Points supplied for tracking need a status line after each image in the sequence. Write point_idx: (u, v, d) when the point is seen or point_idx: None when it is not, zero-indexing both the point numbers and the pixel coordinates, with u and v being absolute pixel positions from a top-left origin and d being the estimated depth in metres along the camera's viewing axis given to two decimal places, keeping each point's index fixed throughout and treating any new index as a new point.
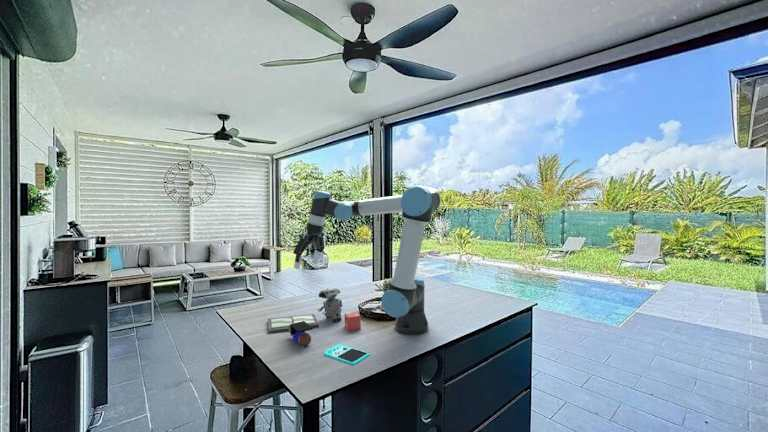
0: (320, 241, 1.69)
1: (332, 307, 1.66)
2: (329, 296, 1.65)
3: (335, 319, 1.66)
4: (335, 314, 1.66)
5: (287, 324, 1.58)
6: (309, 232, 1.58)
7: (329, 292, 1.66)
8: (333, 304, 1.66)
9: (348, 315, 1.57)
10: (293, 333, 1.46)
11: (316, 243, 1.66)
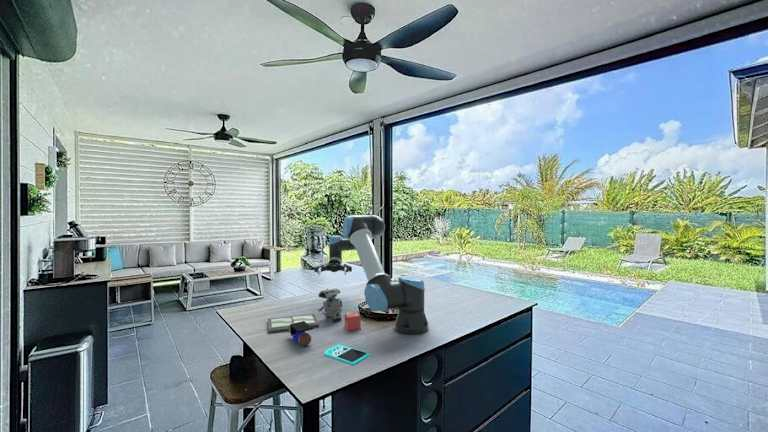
0: (346, 267, 1.93)
1: (332, 307, 1.66)
2: (329, 296, 1.65)
3: (335, 319, 1.66)
4: (335, 314, 1.66)
5: (287, 324, 1.58)
6: None
7: (329, 292, 1.66)
8: (333, 304, 1.66)
9: (348, 315, 1.57)
10: (293, 333, 1.46)
11: (340, 267, 1.92)
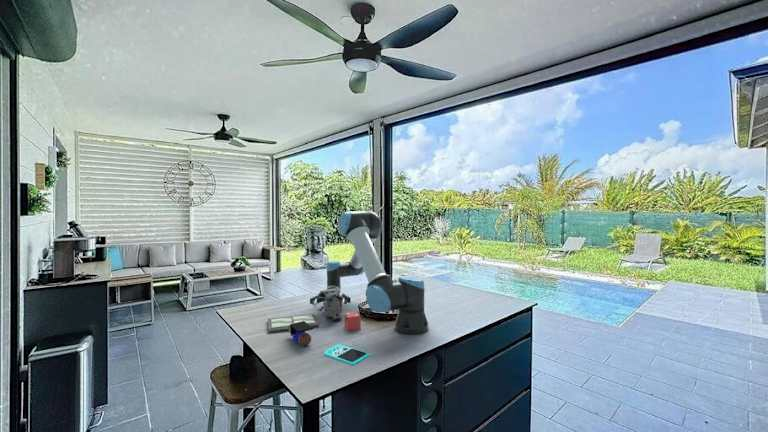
0: None
1: (332, 307, 1.66)
2: (329, 296, 1.65)
3: (335, 319, 1.66)
4: (335, 314, 1.66)
5: (287, 324, 1.58)
6: None
7: (329, 292, 1.66)
8: (333, 304, 1.66)
9: (348, 315, 1.57)
10: (293, 333, 1.46)
11: (338, 297, 1.77)
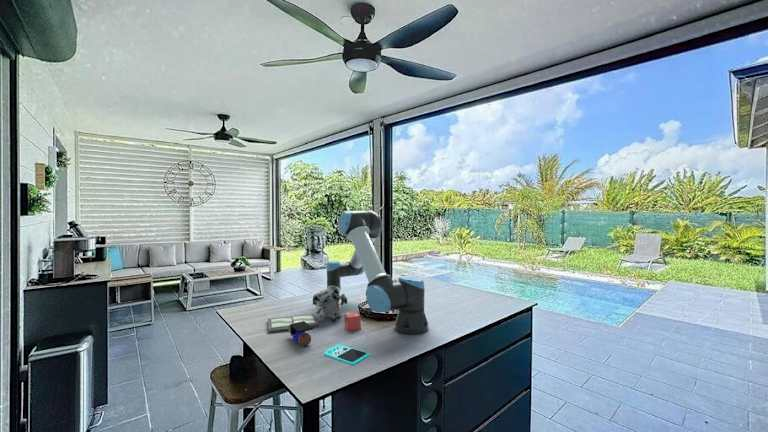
0: (342, 298, 1.77)
1: (328, 308, 1.65)
2: (323, 298, 1.63)
3: (334, 319, 1.66)
4: (333, 314, 1.65)
5: (287, 324, 1.58)
6: None
7: (322, 294, 1.64)
8: (329, 305, 1.65)
9: (348, 315, 1.57)
10: (293, 333, 1.46)
11: (336, 298, 1.76)
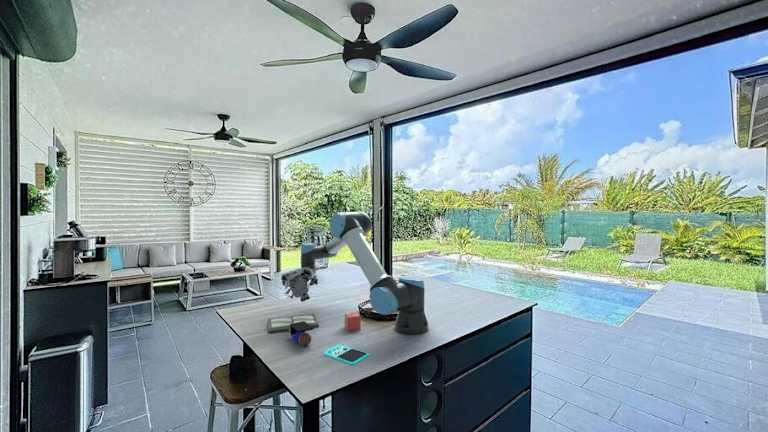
0: None
1: (297, 288, 1.62)
2: (291, 278, 1.60)
3: (303, 299, 1.62)
4: (302, 294, 1.62)
5: (287, 324, 1.58)
6: None
7: (290, 274, 1.61)
8: (297, 285, 1.62)
9: (348, 315, 1.57)
10: (293, 333, 1.46)
11: (307, 279, 1.73)
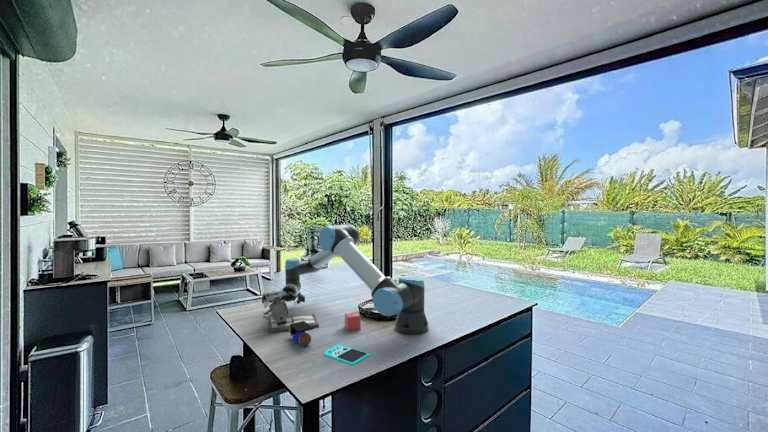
0: None
1: (275, 310, 1.57)
2: (270, 299, 1.56)
3: (279, 323, 1.57)
4: (279, 317, 1.57)
5: (287, 324, 1.58)
6: None
7: (271, 294, 1.57)
8: (276, 307, 1.57)
9: (348, 315, 1.57)
10: (293, 333, 1.46)
11: (292, 296, 1.69)
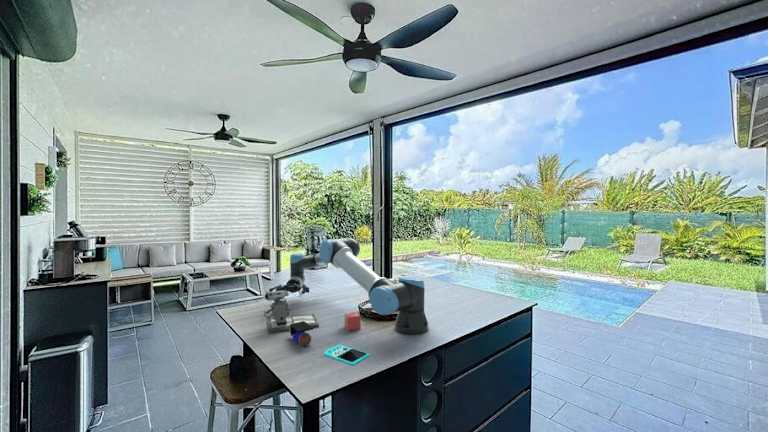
0: None
1: (276, 310, 1.57)
2: (273, 298, 1.56)
3: (279, 323, 1.57)
4: (279, 318, 1.57)
5: (287, 324, 1.58)
6: None
7: (274, 294, 1.57)
8: (278, 307, 1.57)
9: (348, 315, 1.57)
10: (293, 333, 1.46)
11: (297, 288, 1.82)
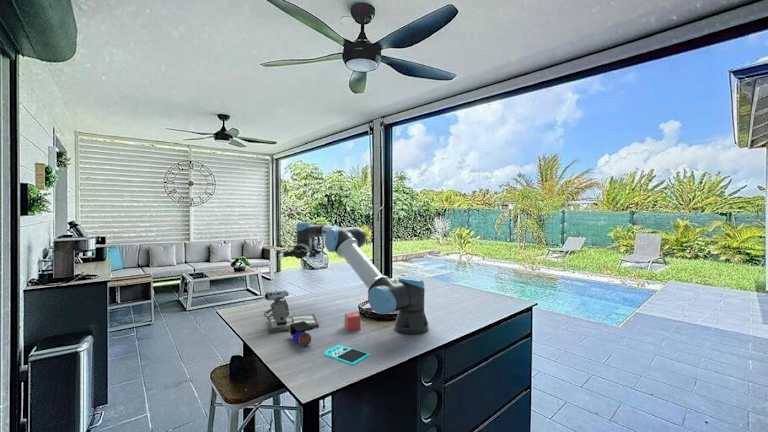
0: None
1: (276, 310, 1.57)
2: (273, 298, 1.56)
3: (279, 323, 1.57)
4: (279, 318, 1.57)
5: (287, 324, 1.58)
6: None
7: (274, 294, 1.57)
8: (278, 307, 1.57)
9: (348, 315, 1.57)
10: (293, 333, 1.46)
11: (304, 252, 1.84)
